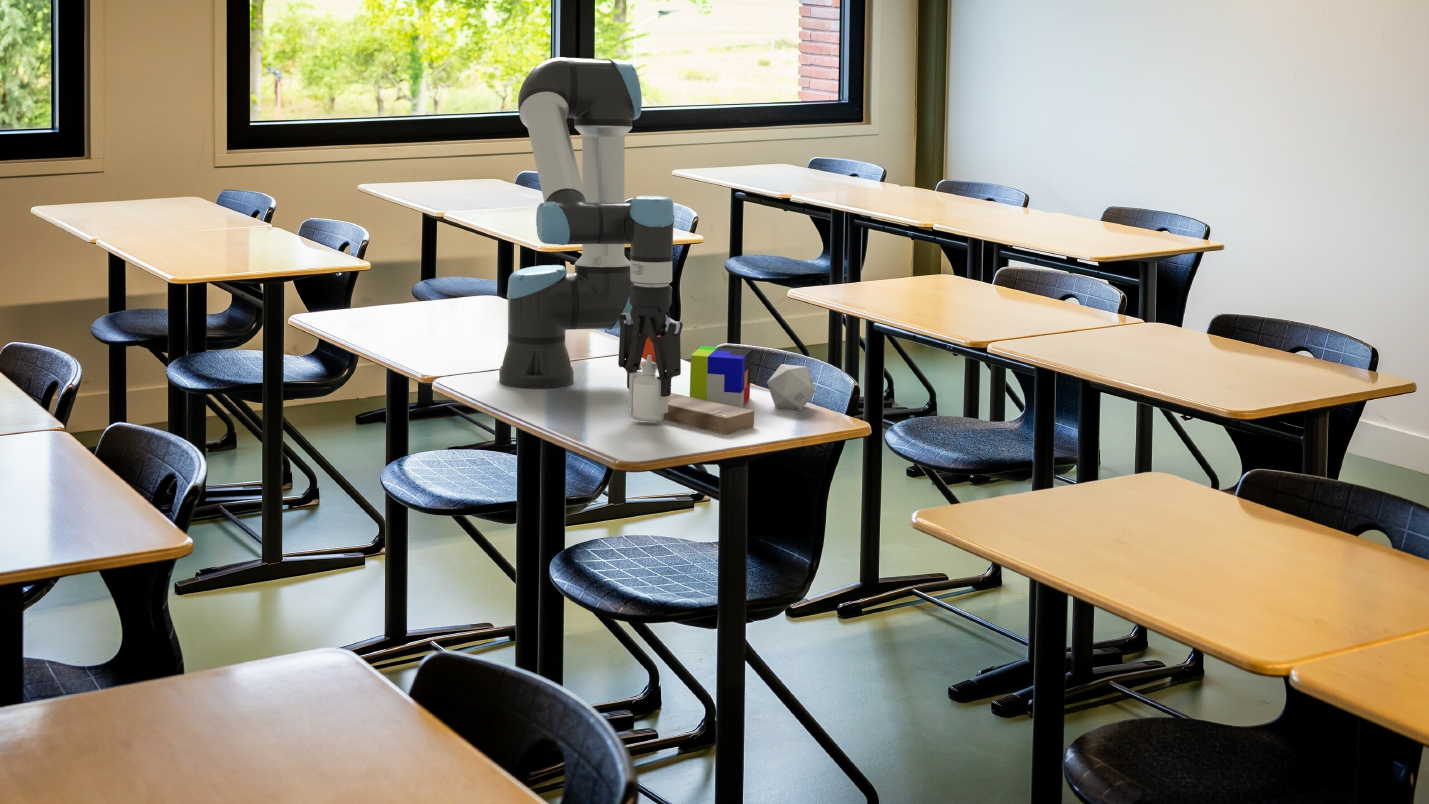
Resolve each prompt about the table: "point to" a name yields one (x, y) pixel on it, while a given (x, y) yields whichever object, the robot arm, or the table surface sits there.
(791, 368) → the die
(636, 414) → the eye dropper bottle
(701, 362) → the puzzle toy
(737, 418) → the walnut block
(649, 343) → the clementine
